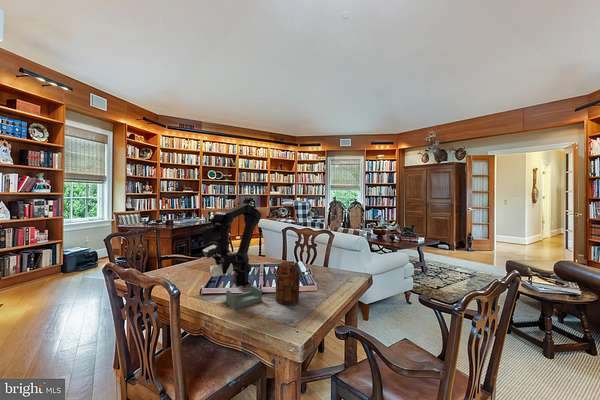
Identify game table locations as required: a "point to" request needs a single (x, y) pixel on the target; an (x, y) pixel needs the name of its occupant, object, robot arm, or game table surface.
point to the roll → (220, 270)
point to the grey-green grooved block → (244, 298)
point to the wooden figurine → (287, 283)
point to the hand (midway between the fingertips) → (221, 272)
